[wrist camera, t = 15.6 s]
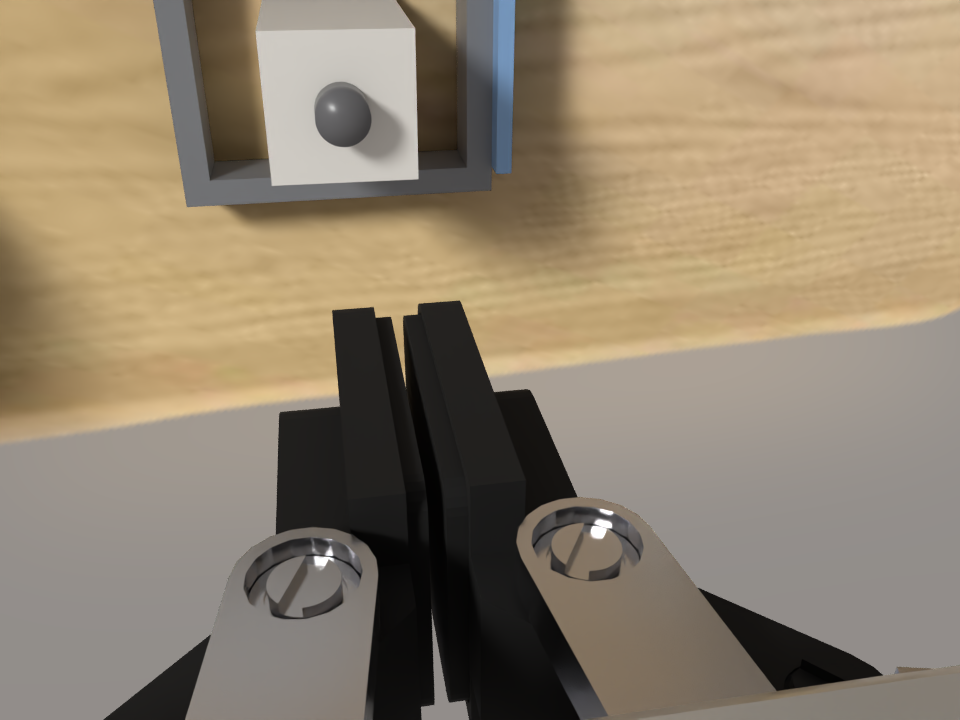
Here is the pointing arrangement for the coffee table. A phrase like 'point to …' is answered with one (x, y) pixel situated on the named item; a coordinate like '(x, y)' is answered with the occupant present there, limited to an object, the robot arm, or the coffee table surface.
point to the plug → (338, 91)
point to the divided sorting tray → (469, 168)
